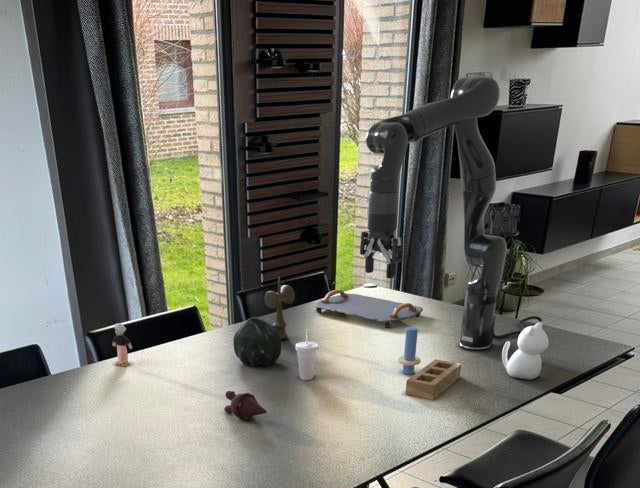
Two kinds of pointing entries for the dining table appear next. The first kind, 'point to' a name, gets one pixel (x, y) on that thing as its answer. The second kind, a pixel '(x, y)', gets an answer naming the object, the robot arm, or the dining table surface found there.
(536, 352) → the cat figurine
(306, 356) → the smoothie
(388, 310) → the serving tray
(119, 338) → the grandmother figurine
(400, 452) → the dining table surface
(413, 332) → the peg
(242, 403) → the red gnome figurine
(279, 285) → the kendama
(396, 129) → the robot arm
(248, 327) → the squash
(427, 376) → the rack
